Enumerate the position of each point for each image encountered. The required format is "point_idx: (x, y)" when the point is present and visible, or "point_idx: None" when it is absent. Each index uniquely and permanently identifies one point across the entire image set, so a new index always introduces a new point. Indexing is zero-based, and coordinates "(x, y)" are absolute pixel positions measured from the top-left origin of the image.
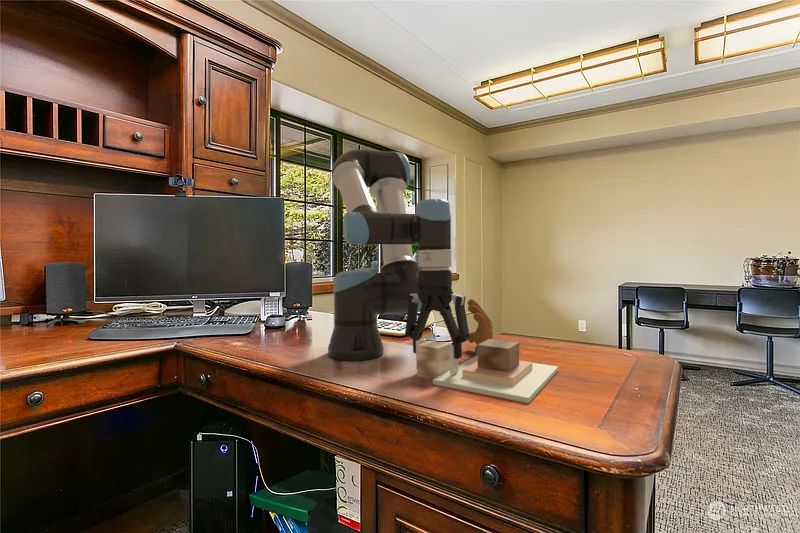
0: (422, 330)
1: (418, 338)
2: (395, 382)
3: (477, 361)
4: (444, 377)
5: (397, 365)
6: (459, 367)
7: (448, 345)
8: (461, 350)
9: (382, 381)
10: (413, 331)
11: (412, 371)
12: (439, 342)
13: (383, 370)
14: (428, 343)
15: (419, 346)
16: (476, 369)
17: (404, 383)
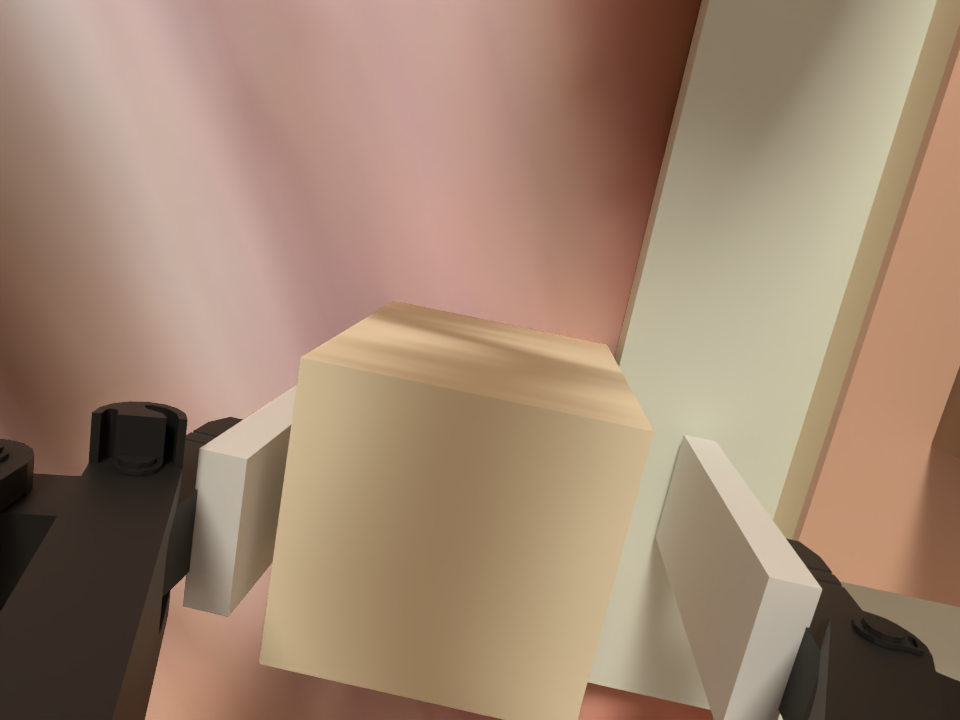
0: (160, 571)
1: (181, 551)
2: (275, 684)
3: (912, 215)
4: (620, 597)
5: (73, 268)
6: (688, 267)
7: (637, 479)
8: (843, 593)
9: (182, 690)
10: (6, 532)
11: (275, 396)
12: (482, 416)
13: (47, 450)
14: (356, 528)
15: (296, 663)
16: (926, 516)
17: (343, 685)
